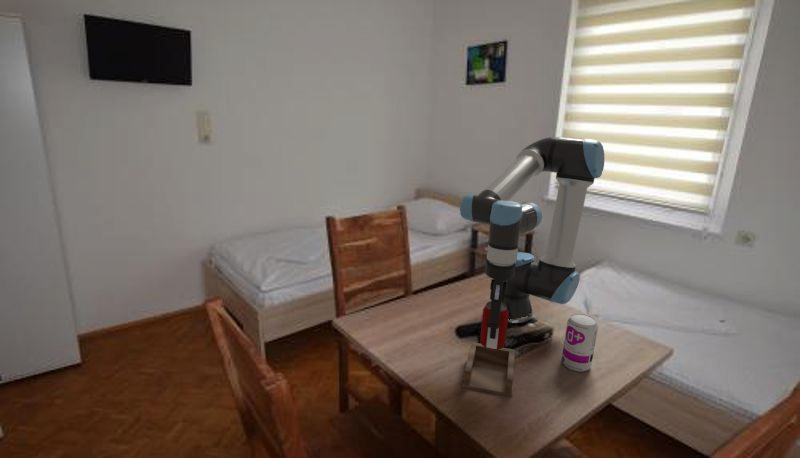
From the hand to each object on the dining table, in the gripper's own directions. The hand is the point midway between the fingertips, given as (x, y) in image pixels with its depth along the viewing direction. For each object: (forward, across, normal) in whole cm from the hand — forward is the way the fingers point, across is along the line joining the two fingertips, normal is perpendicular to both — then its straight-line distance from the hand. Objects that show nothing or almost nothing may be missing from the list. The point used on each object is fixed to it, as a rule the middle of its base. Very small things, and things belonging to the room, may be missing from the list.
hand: (492, 340), depth 117 cm
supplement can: (+12, -15, +24) cm, 31 cm away
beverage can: (+2, 0, 0) cm, 2 cm away
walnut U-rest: (+12, -1, 0) cm, 12 cm away
